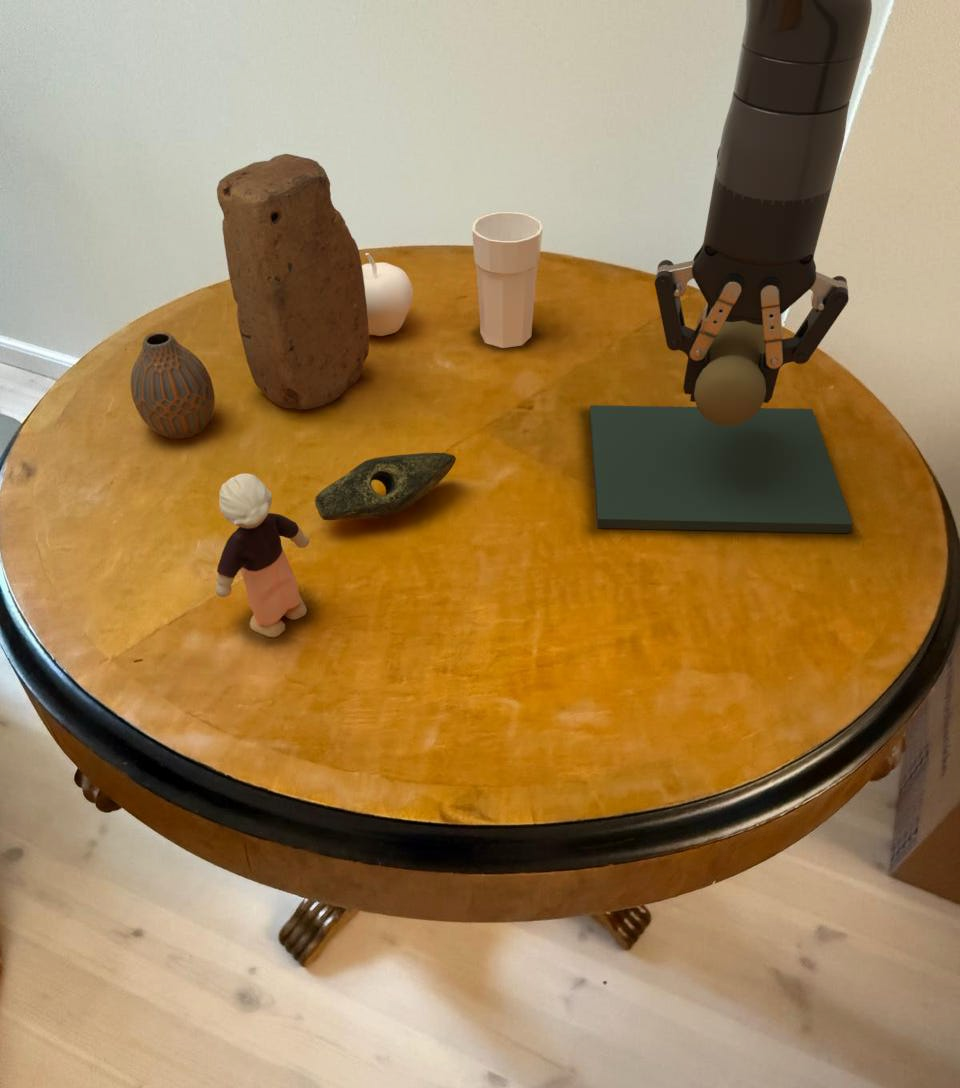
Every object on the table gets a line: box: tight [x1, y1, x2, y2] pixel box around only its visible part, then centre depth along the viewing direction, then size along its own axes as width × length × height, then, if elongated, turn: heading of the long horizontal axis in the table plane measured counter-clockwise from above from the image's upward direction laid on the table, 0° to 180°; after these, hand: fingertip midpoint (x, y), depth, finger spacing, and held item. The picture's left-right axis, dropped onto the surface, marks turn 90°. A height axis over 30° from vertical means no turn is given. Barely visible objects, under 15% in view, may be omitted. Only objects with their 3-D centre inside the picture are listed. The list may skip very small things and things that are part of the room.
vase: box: [130, 331, 216, 440], centre depth 81 cm, size 7×7×9 cm
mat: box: [589, 404, 853, 534], centre depth 79 cm, size 20×16×1 cm
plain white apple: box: [362, 252, 414, 337], centre depth 93 cm, size 7×7×8 cm
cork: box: [694, 310, 766, 426], centre depth 72 cm, size 6×6×11 cm
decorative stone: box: [314, 452, 457, 521], centre depth 74 cm, size 11×8×5 cm
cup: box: [471, 211, 543, 349], centre depth 91 cm, size 7×7×11 cm
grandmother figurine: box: [214, 473, 310, 638], centre depth 63 cm, size 8×4×13 cm, turn 150°
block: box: [216, 153, 370, 410], centre depth 81 cm, size 11×8×20 cm
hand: (725, 399), depth 73 cm, fingers closed on cork, 4 cm apart
